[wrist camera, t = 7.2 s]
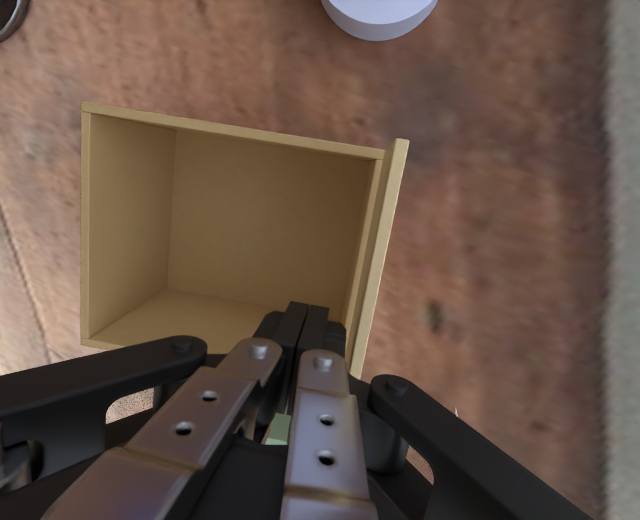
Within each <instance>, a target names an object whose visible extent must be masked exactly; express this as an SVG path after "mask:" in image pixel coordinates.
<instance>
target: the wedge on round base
mask: <svg viewBox="0 0 640 520" xmlns="http://www.w3.org/2000/svg"><path fill="white" fill-rule="evenodd" d="M437 2H438V0H321V3H322V5H323V7H324V9H325V11H326V12H327V14H328V15H329V17H330V18H331V19H332V20H333V21H334V22H335V24H336V25H337V26H339V27H340V28H341V29H342V30H343V31H345V32H347V33H348V34H350V35H352V36H354V37H357V38H359V39H363V40H368V41H386V40H390V39H394V38H397V37H400V36H402V35H404V34H406V33H408V32H410V31H411V30H413V29H414V28H415V27H417V26H418V25H419V24H420V23H421V22H422V21H424V20H425V19H426V17H427V16H428V15H429V14H430V13H431V11H432V10H433V8H434V7H435V5H436V4H437Z"/></svg>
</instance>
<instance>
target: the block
mask: <svg viewBox="0 0 640 520" xmlns="http://www.w3.org/2000/svg"><path fill="white" fill-rule="evenodd" d="M287 407H288V403H287V406H286V410H285V413H284V414H279V413H276V415H275V417H274V419H273V421H272V425H271V431H270V434H269V436H268V438H267V441H266V443H265V444H266V445H286V443H287V436H288V430H289V424H290V418H291V416H289V415H286V413H287Z"/></svg>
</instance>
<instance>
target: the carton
mask: <svg viewBox="0 0 640 520" xmlns="http://www.w3.org/2000/svg"><path fill="white" fill-rule="evenodd" d="M81 111H82V112H81V345H84V346H89V347H94V348H100V349H105V350H114V349H118V348H123V347H127V346H131V345H136V344H140V343H144V342H149V341H153V340H157V339H161V338H166V337H170V336H176V335H189V336H194V337H198V338H200V339H202V340H204V341H205V342H206V343H207V346H208V349H207V354H227V353H229V352H230V351H231V350H232V349H233V347H234V346H235V345H236V344H237V343H238V342H239V341H241V340H243V339H246V338H252V336H253V334H254V333H255V331H256V330H257V328H258V327H259V325H260V323H261V322H262V320H263V318H264V316H265V315H266V314H268V313H270V312H272V311H274V310H275V311H280V312H285V311H286V309H287V307H288V305H289V303H290V301H295V302H300V303H306V304H309V309H310V306H311V305H317V306H322V307H328V308H330V309H329V315H328V320H329V321H334V322H339V323H342V324H343V326H344V327H345V328H346V330H347V332H346V348H347V343H348V338H349V333H350V328H351V322H352V317H353V312H354V307H355V302H356V296H357V291H358V286H359V281H360V276H361V271H362V265H363V260H364V255H365V250H366V245H367V240H368V234H369V229H370V224H371V219H372V214H373V208H374V203H375V198H376V193H377V188H378V183H379V177H380V172H381V167H382V162H383V157H384V152H385V150H382V149H375V148H369V147H363V146H357V145H350V144H344V143H338V142H332V141H326V140H319V139H313V138H307V137H301V136H295V135H288V134H282V133H276V132H270V131H264V130H257V129H251V128H245V127H239V126H233V125H226V124H220V123H214V122H208V121H202V120H195V119H189V118H183V117H177V116H171V115H164V114H158V113H152V112H146V111H140V110H133V109H127V108H121V107H115V106H108V105H102V104H96V103H90V102H84V101H82V102H81ZM345 353H346V349H345Z"/></svg>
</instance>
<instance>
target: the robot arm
mask: <svg viewBox="0 0 640 520" xmlns="http://www.w3.org/2000/svg"><path fill="white" fill-rule="evenodd" d="M29 1H30V0H0V42H2V41H4V40H6V39H7V38H9V37H10V36H11V35H12V34H13V33H15V31H16V30H17V29H18V28H19V26H20V25H21V23H22V22H23V20H24V18H25V15H26V13H27V10H28V6H29ZM329 309H330V308H328V307H322V306H317V305H311V306H310V309H309V304H306V303H300V302H295V301H290V303H289V305H288V307H287V309H286V311H285V312H280V311H275V310H274V311H272V312H270V313H268V314H266V315H265V316H264V318H263V320H262V322H261V323H260V325H259V327H258V328H257V330H256V331H255V333H254V334H253V336H252V338H246V339H243V340H241V341H239V342H238V343H237V344H236V345H235V346H234V347H233V349H232V350H231V351H230V352H229V353H227V354H207V349H208V346H207V343H206V342H205V341H204V340H202V339H200V338H198V337H194V336H189V335H176V336H170V337H166V338H161V339H157V340H153V341H149V342H144V343H140V344H136V345H131V346H127V347H123V348H118V349H114V350H110V351H105V352H101V353H97V354H92V355H88V356H84V357H79V358H75V359H71V360H66V361H62V362H58V363H53V364H49V365H45V366H40V367H36V368H32V369H27V370H23V371H19V372H14V373H10V374H6V375H1V376H0V520H594V519H592V518H591V517H590V516H588V515H587V514H586V513H584V512H583V511H582V510H580V509H579V508H578V507H576V506H575V505H574V504H572V503H571V502H570V501H568V500H567V499H566V498H564V497H563V496H562V495H560V494H559V493H558V492H556V491H555V490H554V489H552V488H551V487H550V486H548V485H547V484H546V483H545V482H543V481H542V480H541V479H539V478H538V477H537V476H535V475H534V474H533V473H531V472H530V471H529V470H527V469H526V468H525V467H523V466H522V465H521V464H519V463H518V462H517V461H515V460H514V459H513V458H511V457H510V456H509V455H507V454H506V453H505V452H503V451H502V450H501V449H499V448H498V447H497V446H495V445H494V444H493V443H492V442H490V441H489V440H488V439H486V438H485V437H484V436H482V435H481V434H480V433H478V432H477V431H476V430H474V429H473V428H472V427H470V426H469V425H468V424H466V423H465V422H464V421H462V420H461V419H460V418H458V417H457V416H456V415H454V414H453V413H452V412H450V411H449V410H448V409H446V408H445V407H444V406H442V405H441V404H440V403H439V402H437V401H436V400H435V399H433V398H432V397H431V396H429V395H428V394H427V393H425V392H424V391H423V390H421V389H420V388H419V387H417V386H416V385H415V384H413V383H412V382H410V381H408V380H407V379H404V378H402V377H399V376H395V375H388V374H383V375H378V376H375V377H374V378H373V379H372V380H371V384H369V383H366V382H363V381H361V380H359V379H357V378H355V377H354V376H352V375H351V374H350V373H349V372H348V370H347V363H346V361H345V349H346V332H347V330H346V328H345V327H344V326H343V324H342V323H339V322H334V321H329V320H328V315H329ZM153 387H154V397H153V408H150V409H148V410H145V411H142V412H139V413H136V414H134V415H131V416H128V417H125V418H123V419H120V420H117V421H114V422H111V423H109V424H106V412H107V410H108V408H109V407H110V405H111V404H112V403H113V402H114V401H116V400H117V399H119V398H122V397H125V396H128V395H131V394H134V393H137V392H140V391H143V390H146V389H149V388H153ZM288 399H289V401H288ZM287 403H288V407H287V413H286V415H289V416H291V418H290V424H289V430H288V436H287V443H286V445H266V444H265V443H266V441H267V438H268V436H269V434H270V431H271V425H272V421H273V419H274V417H275V415H276V413H279V414H284V413H285V410H286V406H287ZM409 445H410V446H411V447H413V448H414V449H415V450H416V451H417V452H418V453H419V454H420V455H421V456H422V457H423V458H424V459H425V460H426V461H427V462H428V463H429V465H430V467H431V469H432V472H433V475H434V484H433V485H432V484H431V483H430V482H429V481H428V480H427V479H426V478H425V477H424V476H423V475H422V474H421V473H420V472H419V471H418V470H417V469H416V468H415V467H414V466H413V465H412V464H411V463H410V462H409V461H408V460H407V459H406V456H407V452H408V448H409Z"/></svg>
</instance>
